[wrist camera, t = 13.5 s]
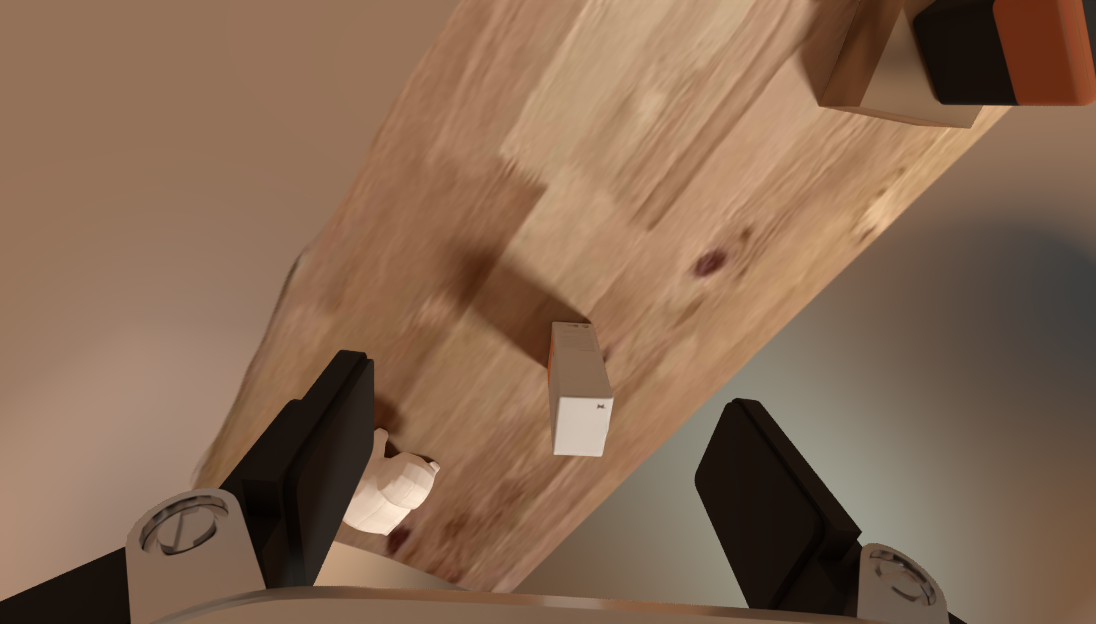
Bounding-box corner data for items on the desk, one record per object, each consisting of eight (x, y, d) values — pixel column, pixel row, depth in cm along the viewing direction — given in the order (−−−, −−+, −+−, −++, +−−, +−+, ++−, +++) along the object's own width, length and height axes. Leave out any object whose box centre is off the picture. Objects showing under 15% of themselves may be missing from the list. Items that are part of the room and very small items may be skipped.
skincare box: (551, 320, 42) (559, 394, 31) (593, 322, 42) (616, 397, 31) (545, 371, 44) (551, 456, 34) (585, 373, 45) (604, 458, 34)
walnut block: (869, -30, 31) (928, -53, 26) (978, -4, 32) (1052, -22, 27) (816, 106, 35) (859, 106, 30) (914, 125, 36) (970, 128, 31)
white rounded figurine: (405, 480, 55) (471, 452, 46) (370, 550, 48) (439, 533, 39) (347, 445, 52) (406, 408, 43) (302, 515, 45) (361, 488, 37)
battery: (974, -32, 27) (1197, -100, 18) (1000, 64, 29) (1207, 47, 20) (906, 20, 28) (1084, -19, 19) (936, 108, 30) (1106, 111, 21)
